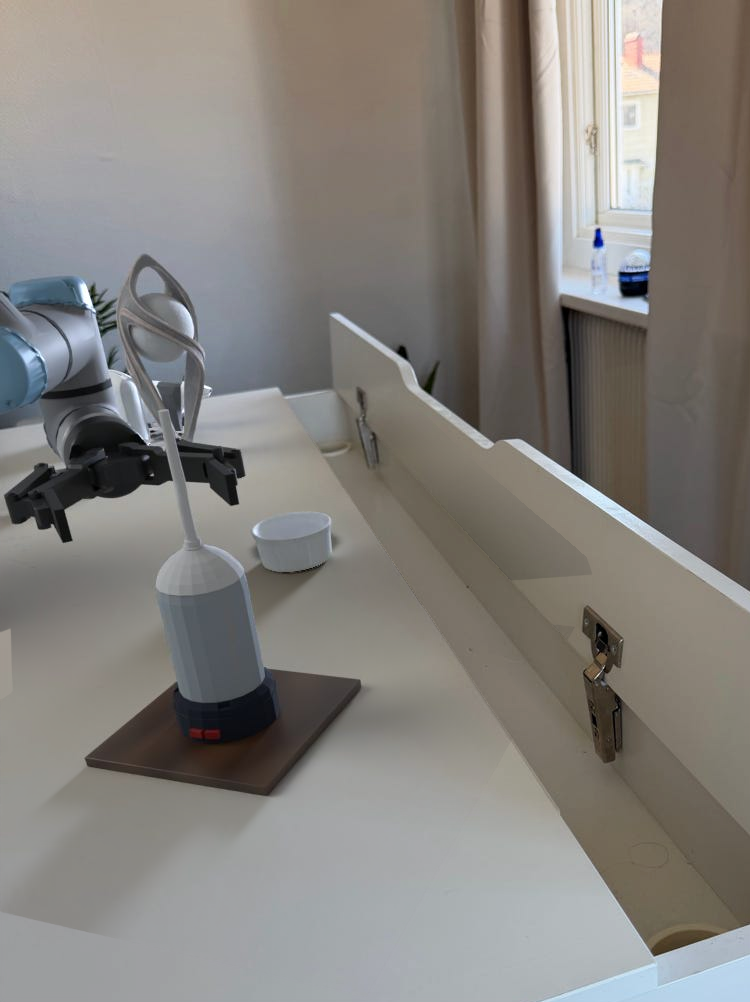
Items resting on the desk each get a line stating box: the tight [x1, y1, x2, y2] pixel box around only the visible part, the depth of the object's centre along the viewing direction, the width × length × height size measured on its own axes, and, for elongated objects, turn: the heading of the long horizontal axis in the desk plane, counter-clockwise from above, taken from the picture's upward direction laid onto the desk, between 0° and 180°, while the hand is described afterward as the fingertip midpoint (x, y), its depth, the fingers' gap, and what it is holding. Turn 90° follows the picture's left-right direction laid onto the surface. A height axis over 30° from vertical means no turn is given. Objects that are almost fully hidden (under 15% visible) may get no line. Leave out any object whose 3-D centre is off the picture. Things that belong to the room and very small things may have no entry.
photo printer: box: [108, 368, 152, 445], centre depth 159 cm, size 10×4×12 cm, turn 55°
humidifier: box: [155, 409, 280, 744], centre depth 74 cm, size 8×8×25 cm
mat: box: [84, 668, 362, 796], centre depth 79 cm, size 16×16×1 cm
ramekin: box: [250, 511, 333, 573], centre depth 110 cm, size 9×9×4 cm
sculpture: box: [115, 253, 206, 443], centre depth 144 cm, size 12×12×30 cm
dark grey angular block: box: [141, 375, 213, 431], centre depth 166 cm, size 15×6×10 cm, turn 91°
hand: (150, 507), depth 79 cm, fingers open, 13 cm apart
